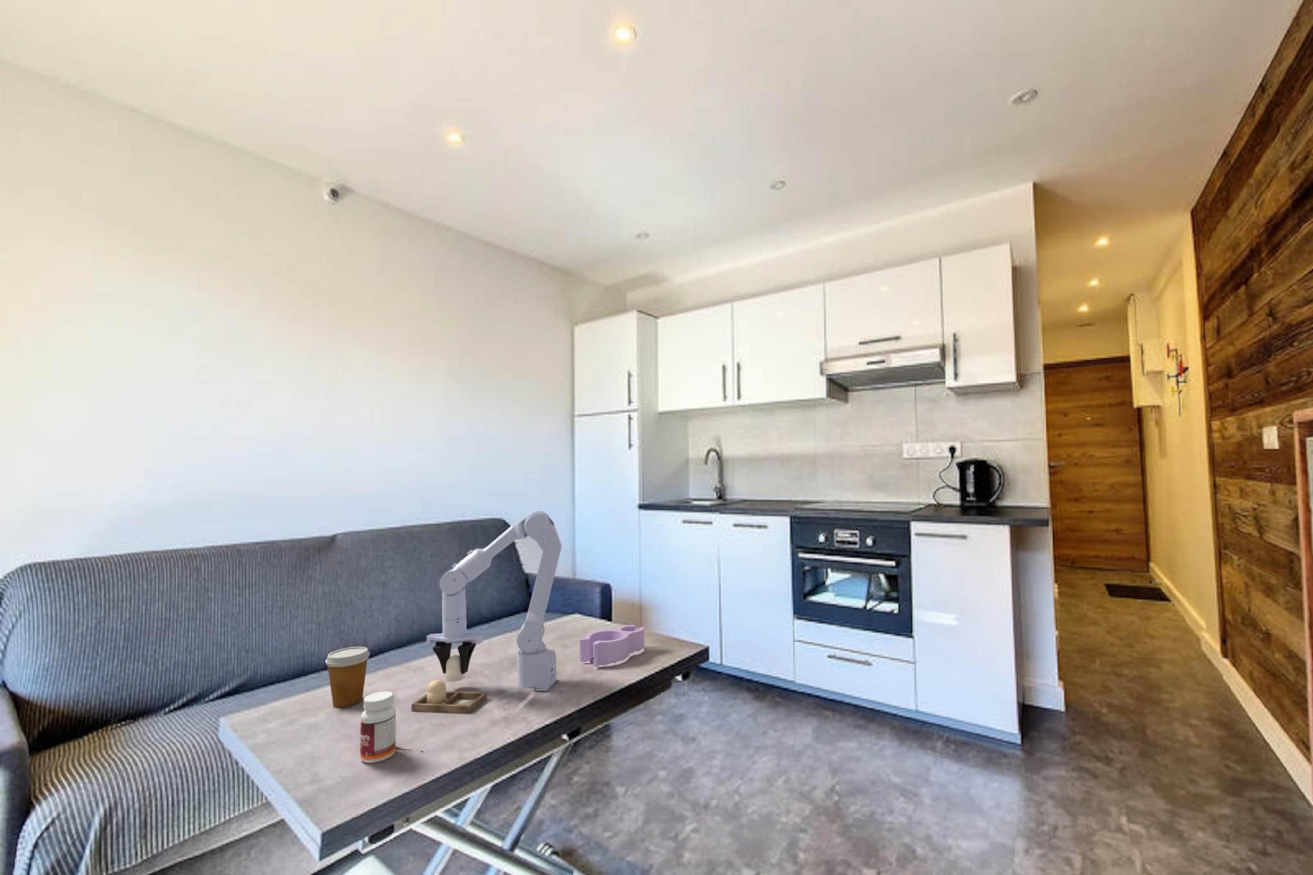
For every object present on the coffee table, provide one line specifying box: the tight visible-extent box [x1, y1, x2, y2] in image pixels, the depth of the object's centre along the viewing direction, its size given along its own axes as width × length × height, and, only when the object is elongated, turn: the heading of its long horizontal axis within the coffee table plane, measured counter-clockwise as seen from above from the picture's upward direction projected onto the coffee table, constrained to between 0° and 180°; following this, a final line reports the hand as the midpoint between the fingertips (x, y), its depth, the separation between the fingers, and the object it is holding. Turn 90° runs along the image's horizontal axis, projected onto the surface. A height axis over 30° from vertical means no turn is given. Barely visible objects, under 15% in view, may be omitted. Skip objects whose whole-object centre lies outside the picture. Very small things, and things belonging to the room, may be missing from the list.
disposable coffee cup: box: [325, 646, 371, 708], centre depth 133 cm, size 10×10×12 cm
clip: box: [578, 624, 646, 668], centre depth 159 cm, size 20×12×7 cm, turn 134°
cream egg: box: [445, 654, 466, 683], centre depth 137 cm, size 4×4×6 cm
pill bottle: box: [359, 690, 397, 764], centre depth 106 cm, size 6×6×11 cm
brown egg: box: [426, 679, 447, 704], centre depth 128 cm, size 4×4×6 cm
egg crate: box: [410, 690, 488, 715], centre depth 127 cm, size 14×8×2 cm, turn 80°
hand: (455, 672), depth 137 cm, fingers closed on cream egg, 4 cm apart
